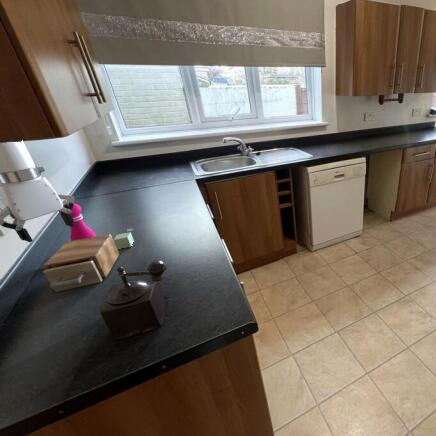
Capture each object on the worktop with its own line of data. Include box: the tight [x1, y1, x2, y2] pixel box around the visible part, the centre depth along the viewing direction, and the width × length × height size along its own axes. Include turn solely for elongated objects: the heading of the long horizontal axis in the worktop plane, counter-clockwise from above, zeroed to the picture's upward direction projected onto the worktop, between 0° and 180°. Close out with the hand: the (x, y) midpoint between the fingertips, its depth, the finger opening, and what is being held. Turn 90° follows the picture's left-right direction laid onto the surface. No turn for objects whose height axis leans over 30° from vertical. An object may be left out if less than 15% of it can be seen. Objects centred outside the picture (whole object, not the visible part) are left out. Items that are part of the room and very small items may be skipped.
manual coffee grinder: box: [99, 260, 167, 341], centre depth 67 cm, size 16×11×18 cm
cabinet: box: [43, 234, 120, 279], centre depth 88 cm, size 15×13×10 cm
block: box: [113, 231, 135, 250], centre depth 104 cm, size 4×4×4 cm
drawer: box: [43, 258, 103, 293], centre depth 84 cm, size 18×11×8 cm, turn 21°
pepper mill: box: [58, 199, 97, 241], centre depth 101 cm, size 7×7×20 cm
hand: (50, 233), depth 78 cm, fingers open, 9 cm apart
